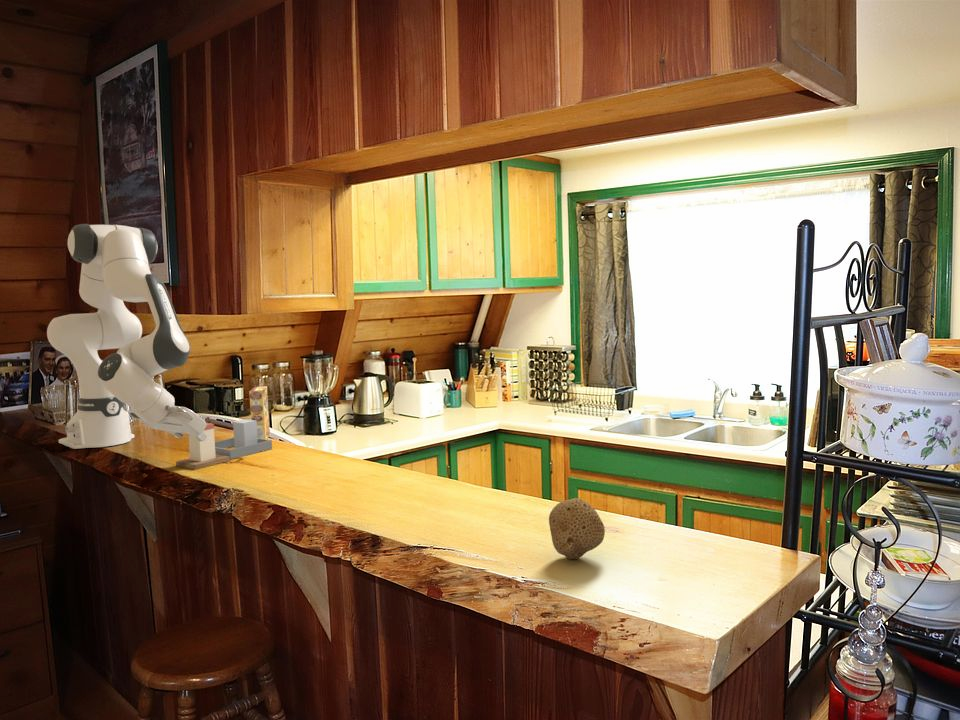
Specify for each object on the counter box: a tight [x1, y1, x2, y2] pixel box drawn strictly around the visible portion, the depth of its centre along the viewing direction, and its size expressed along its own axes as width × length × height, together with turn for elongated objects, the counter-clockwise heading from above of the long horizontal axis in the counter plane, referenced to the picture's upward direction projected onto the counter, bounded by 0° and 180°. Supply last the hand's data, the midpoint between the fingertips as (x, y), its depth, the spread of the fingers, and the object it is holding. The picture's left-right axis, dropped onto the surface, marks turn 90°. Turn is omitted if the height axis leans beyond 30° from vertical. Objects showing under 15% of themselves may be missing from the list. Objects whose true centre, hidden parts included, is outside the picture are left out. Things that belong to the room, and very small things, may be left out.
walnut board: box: [175, 454, 231, 470], centre depth 201 cm, size 8×10×1 cm
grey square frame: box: [215, 437, 273, 460], centre depth 214 cm, size 13×14×2 cm
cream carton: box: [188, 422, 216, 462], centre depth 200 cm, size 5×5×9 cm
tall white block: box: [232, 419, 258, 448], centre depth 217 cm, size 4×4×8 cm
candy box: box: [248, 386, 271, 440], centre depth 231 cm, size 9×4×15 cm, turn 8°
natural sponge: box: [548, 497, 606, 560], centre depth 126 cm, size 9×9×10 cm
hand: (192, 437), depth 198 cm, fingers open, 8 cm apart
